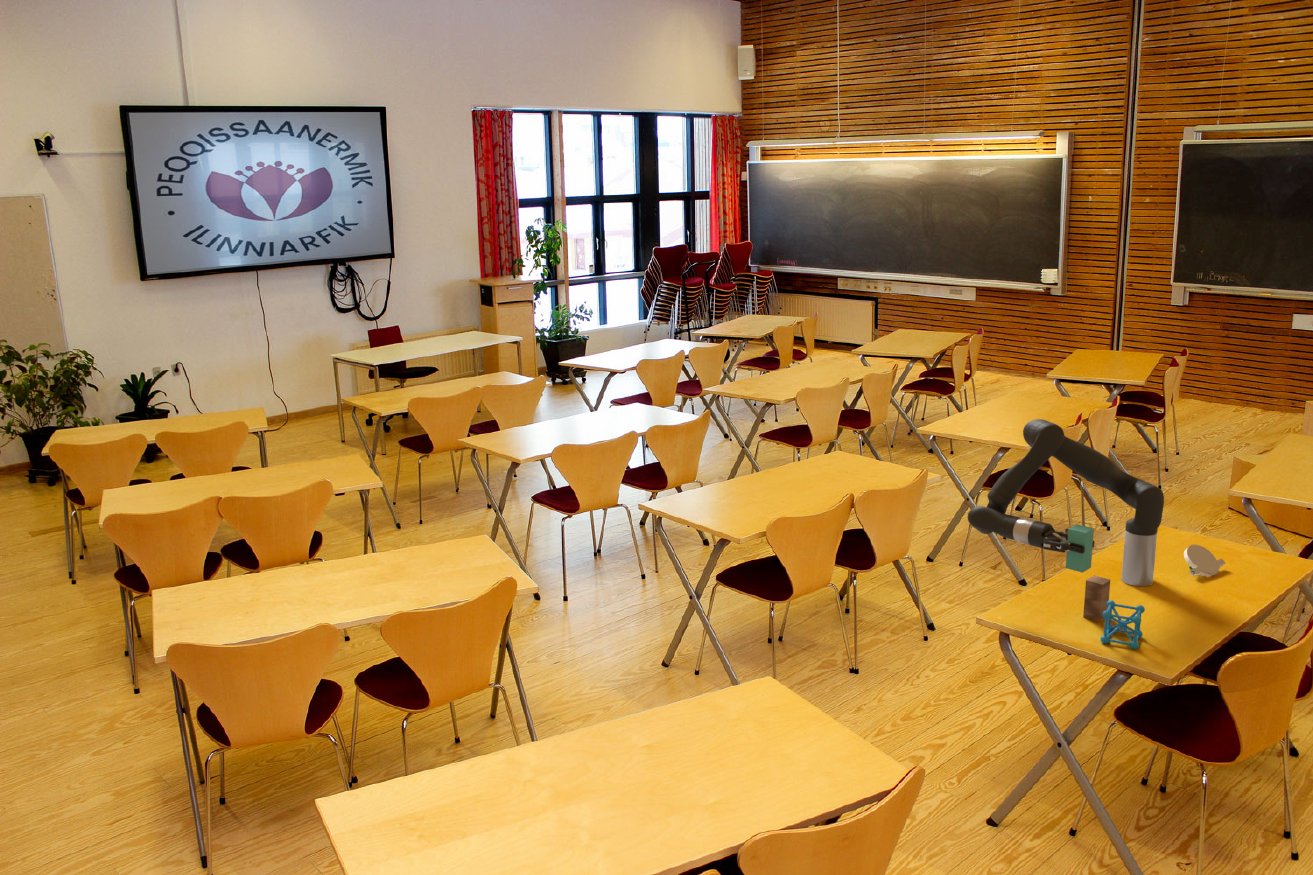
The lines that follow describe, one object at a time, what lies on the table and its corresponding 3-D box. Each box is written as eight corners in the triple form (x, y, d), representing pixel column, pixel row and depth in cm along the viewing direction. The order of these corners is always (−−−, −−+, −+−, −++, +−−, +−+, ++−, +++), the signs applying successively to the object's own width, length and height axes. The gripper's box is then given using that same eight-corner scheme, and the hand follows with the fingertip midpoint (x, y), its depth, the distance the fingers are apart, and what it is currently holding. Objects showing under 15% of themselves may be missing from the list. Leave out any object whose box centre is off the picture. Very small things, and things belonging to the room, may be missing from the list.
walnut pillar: (1083, 617, 301) (1085, 580, 298) (1091, 611, 304) (1093, 575, 301) (1099, 622, 297) (1102, 584, 294) (1107, 616, 300) (1110, 579, 297)
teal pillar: (1065, 568, 288) (1068, 528, 284) (1074, 563, 291) (1076, 524, 288) (1082, 572, 284) (1085, 533, 281) (1091, 567, 287) (1093, 528, 284)
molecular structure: (1138, 651, 279) (1141, 618, 276) (1099, 643, 284) (1101, 611, 282) (1142, 636, 287) (1145, 604, 285) (1105, 629, 292) (1107, 598, 290)
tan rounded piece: (1201, 580, 320) (1187, 546, 323) (1180, 585, 327) (1167, 552, 330) (1231, 569, 327) (1216, 537, 330) (1210, 575, 334) (1196, 542, 337)
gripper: (1020, 527, 290) (1077, 541, 278) (1046, 514, 299) (1102, 528, 287) (1019, 551, 292) (1075, 566, 280) (1044, 538, 301) (1100, 552, 289)
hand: (1088, 547), depth 284 cm, fingers closed on teal pillar, 5 cm apart
